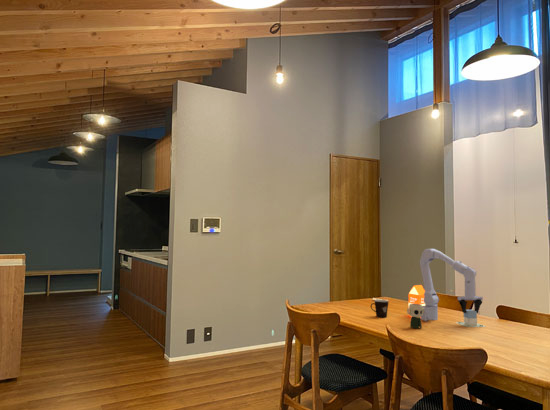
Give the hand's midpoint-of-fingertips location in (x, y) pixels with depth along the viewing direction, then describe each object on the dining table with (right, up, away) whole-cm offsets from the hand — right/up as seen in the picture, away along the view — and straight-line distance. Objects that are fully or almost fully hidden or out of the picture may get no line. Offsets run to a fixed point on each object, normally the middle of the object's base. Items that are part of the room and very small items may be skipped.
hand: (470, 312), depth 240 cm
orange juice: (-22, -9, +26) cm, 35 cm away
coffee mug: (-47, -9, +23) cm, 53 cm away
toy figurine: (-34, -7, -8) cm, 36 cm away
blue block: (0, -3, 0) cm, 3 cm away
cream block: (0, -7, 0) cm, 7 cm away
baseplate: (0, -8, -1) cm, 8 cm away
